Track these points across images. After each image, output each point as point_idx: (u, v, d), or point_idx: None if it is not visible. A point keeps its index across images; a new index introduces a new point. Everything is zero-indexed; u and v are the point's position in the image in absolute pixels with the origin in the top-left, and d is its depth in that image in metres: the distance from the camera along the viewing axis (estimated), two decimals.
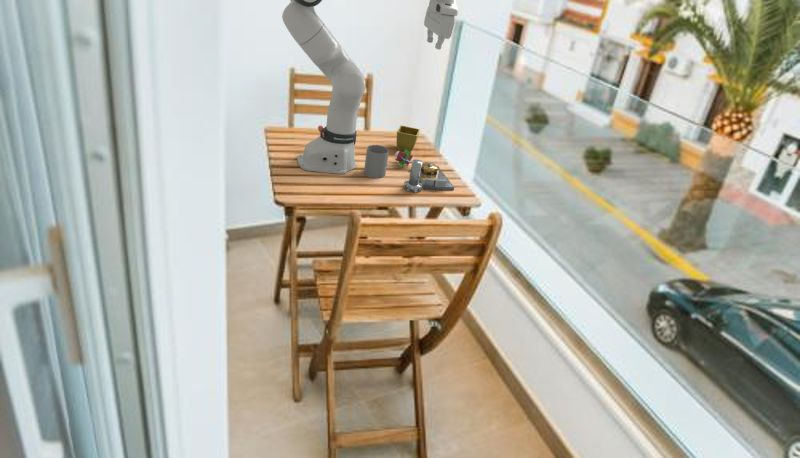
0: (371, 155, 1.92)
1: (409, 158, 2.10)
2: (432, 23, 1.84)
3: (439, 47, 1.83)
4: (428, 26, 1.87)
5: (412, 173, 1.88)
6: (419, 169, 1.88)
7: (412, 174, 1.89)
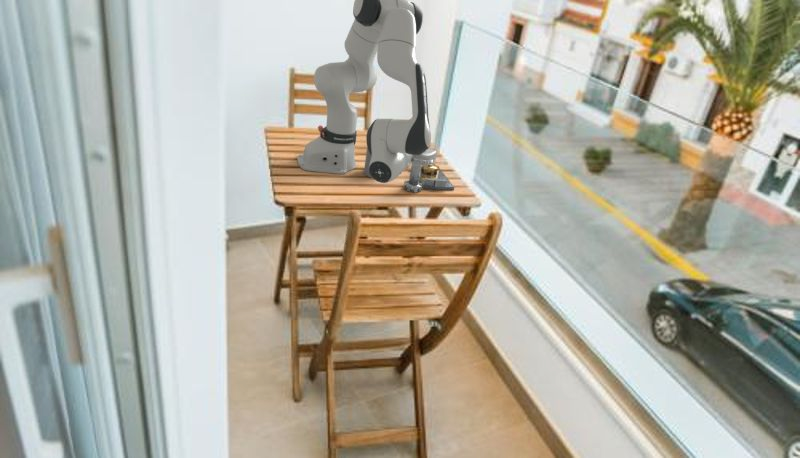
0: None
1: None
2: None
3: None
4: None
5: (412, 173, 1.88)
6: (419, 169, 1.88)
7: (412, 174, 1.89)
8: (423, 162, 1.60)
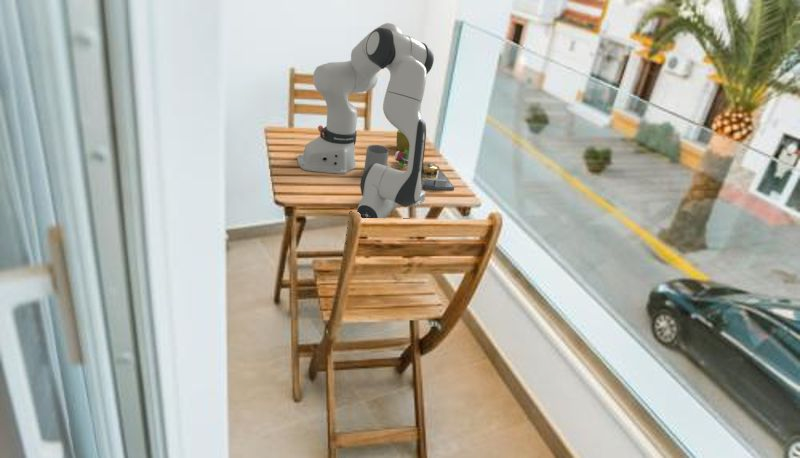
0: (371, 155, 1.92)
1: None
2: None
3: None
4: None
5: None
6: None
7: None
8: None
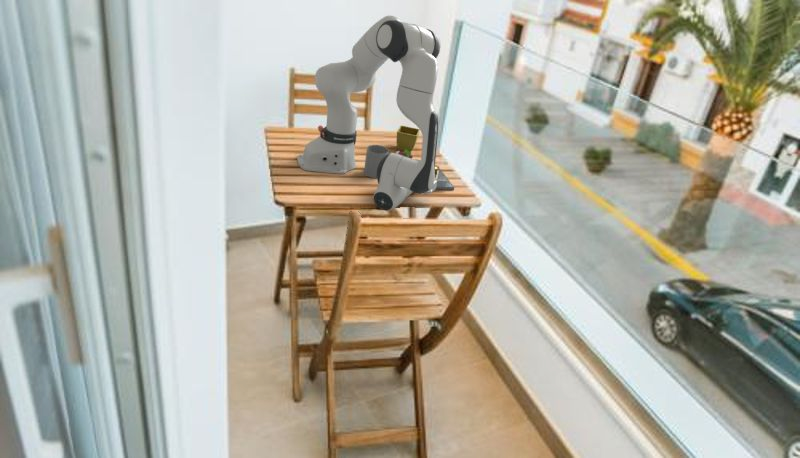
0: (371, 155, 1.92)
1: None
2: None
3: None
4: None
5: None
6: None
7: None
8: None
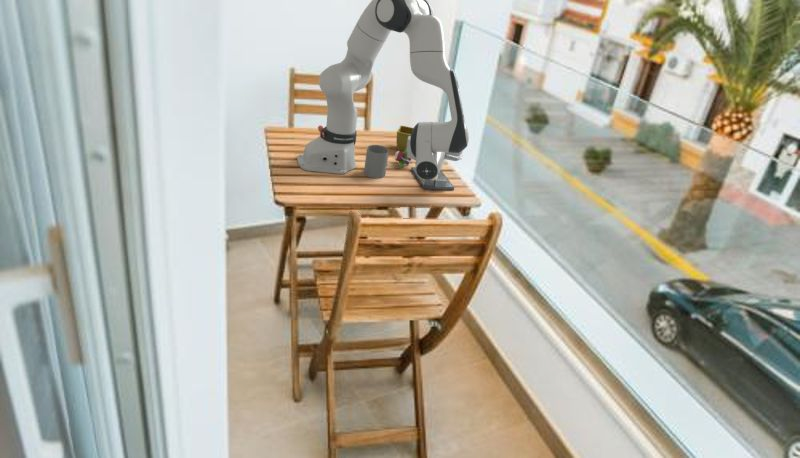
0: (371, 155, 1.92)
1: (409, 158, 2.10)
2: None
3: None
4: None
5: None
6: None
7: None
8: (455, 158, 1.79)
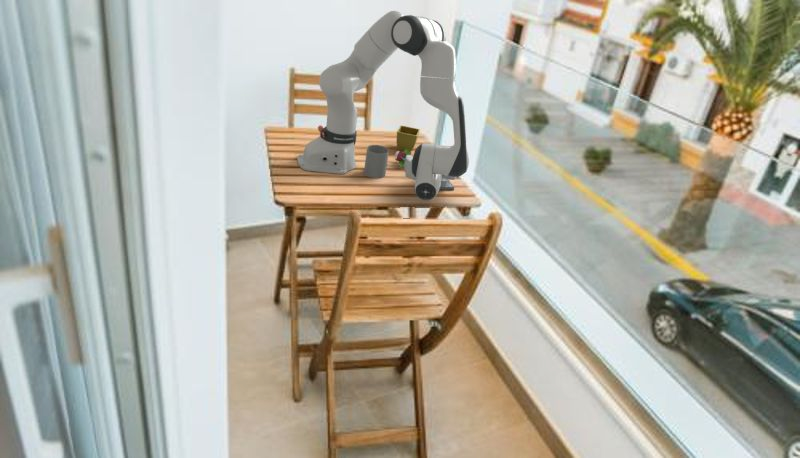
0: (371, 155, 1.92)
1: None
2: None
3: None
4: None
5: None
6: None
7: None
8: (452, 177, 1.84)
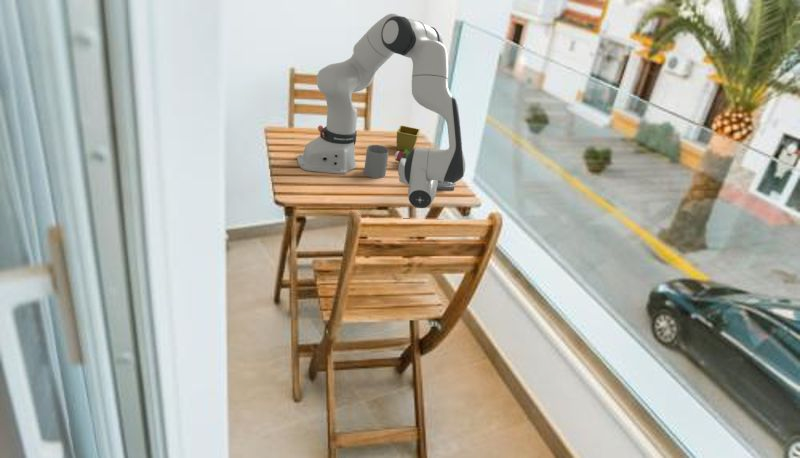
0: (371, 155, 1.92)
1: None
2: None
3: None
4: None
5: None
6: None
7: None
8: (449, 184, 1.72)
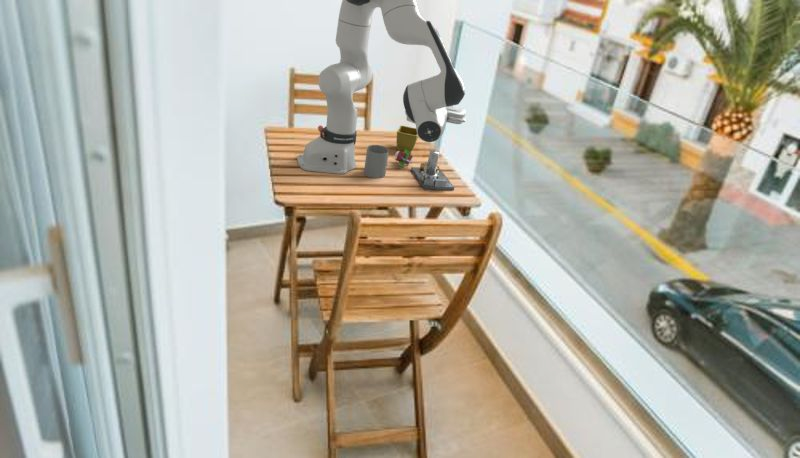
0: (371, 155, 1.92)
1: (409, 158, 2.10)
2: None
3: None
4: (448, 106, 1.73)
5: (430, 163, 1.95)
6: (437, 159, 1.94)
7: (430, 164, 1.95)
8: (458, 121, 1.67)
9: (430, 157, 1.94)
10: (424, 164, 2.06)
